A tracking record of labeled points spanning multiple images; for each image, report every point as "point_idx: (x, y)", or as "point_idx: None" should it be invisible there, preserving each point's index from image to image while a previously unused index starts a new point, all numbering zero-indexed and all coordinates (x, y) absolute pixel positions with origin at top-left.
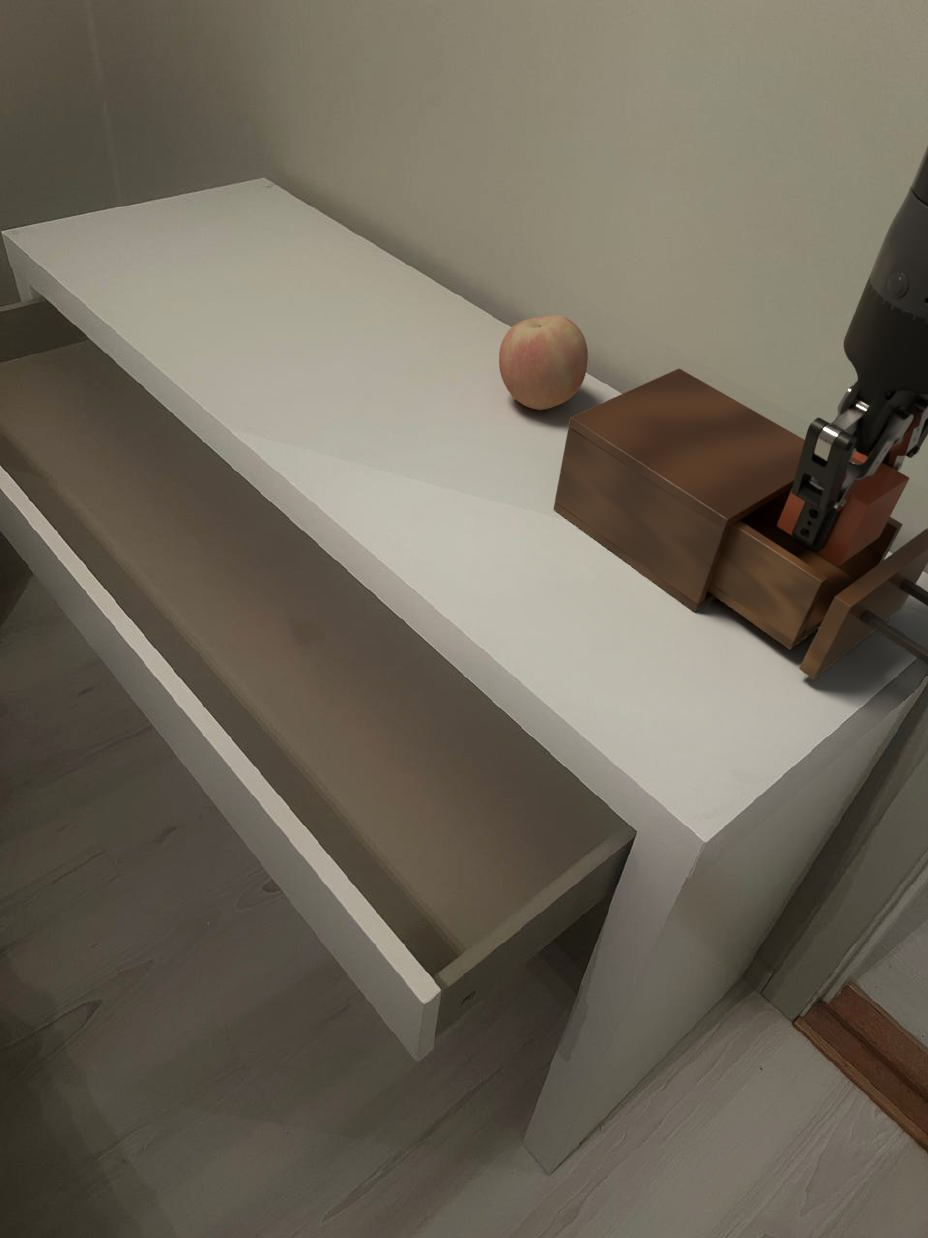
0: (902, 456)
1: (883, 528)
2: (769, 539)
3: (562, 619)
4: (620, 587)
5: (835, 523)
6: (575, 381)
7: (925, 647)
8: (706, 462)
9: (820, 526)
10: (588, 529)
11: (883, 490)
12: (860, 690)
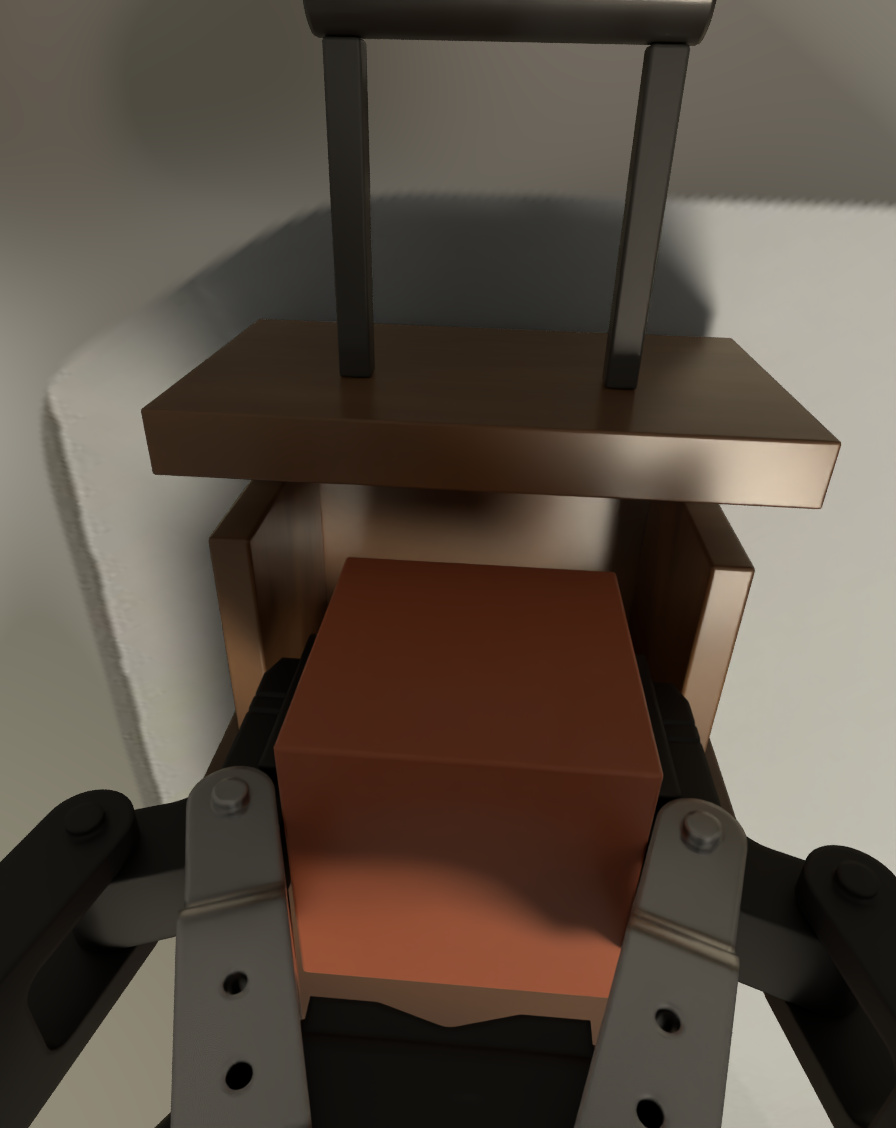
0: (215, 848)
1: (344, 579)
2: None
3: (892, 778)
4: (720, 761)
5: None
6: None
7: (642, 127)
8: (546, 995)
9: (702, 756)
10: None
11: (486, 780)
12: (620, 223)
